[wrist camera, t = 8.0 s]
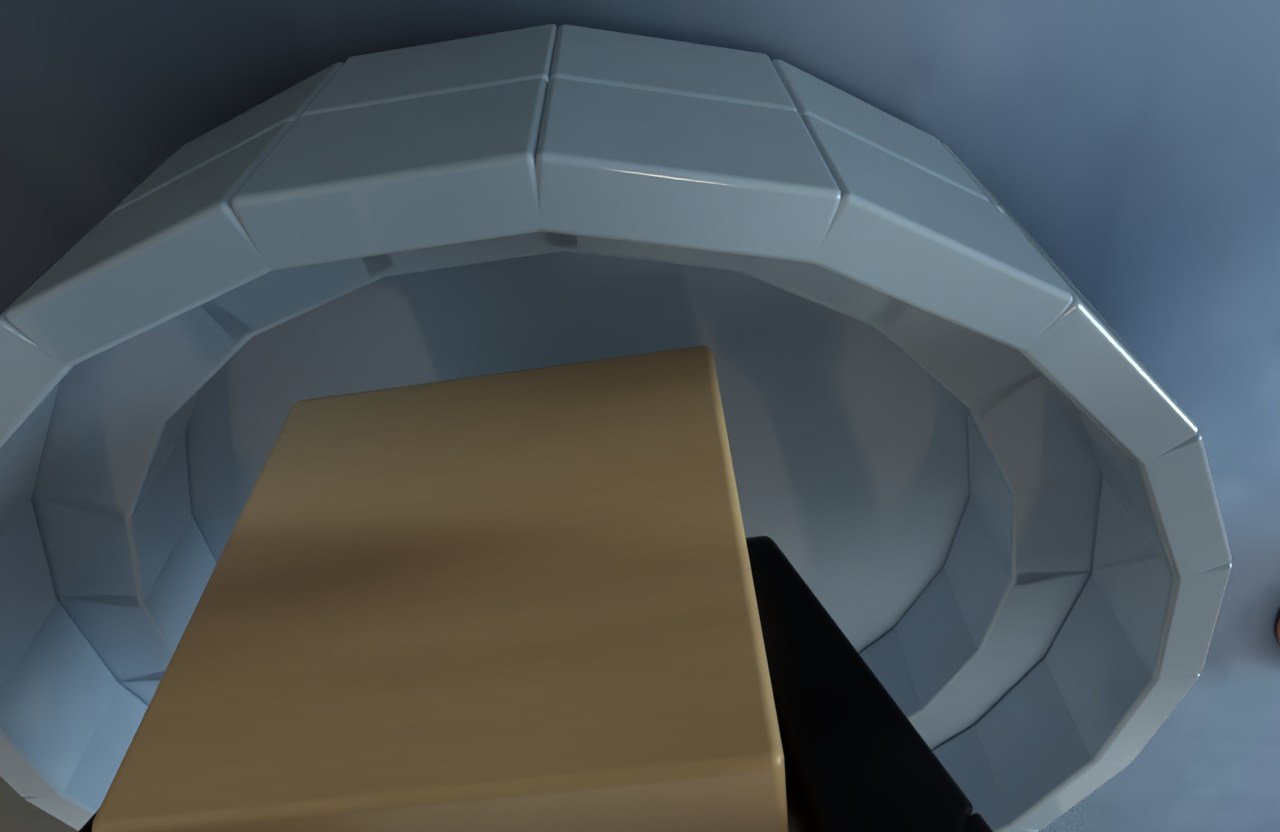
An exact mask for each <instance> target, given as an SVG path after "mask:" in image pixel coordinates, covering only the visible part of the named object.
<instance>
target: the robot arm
mask: <svg viewBox="0 0 1280 832" xmlns="http://www.w3.org/2000/svg"><path fill="white" fill-rule="evenodd" d="M746 544H747V549H748V555H749V561H750V566H751V572H752V578H753V583H754V589H755V595H756V600H757V606H758V612H759V618H760V623H761V629H762V635H763V640H764V646H765V652H766V657H767V663H768V669H769V674H770V680H771V686H772V691H773V697H774V703H775V709H776V714H777V720H778V726H779V731H780V737H781V743H782V748H783V754H784V766H785V783H786V800H787V817H788V832H993V831H992V829H991V828H990V827H989V825H988V824H987V823H986V821H985V820H984V819H983V817H982V816H981V815H980V814H979V813H973V814H972V812H973V805H972V803H971V802H970V801H969V799H968V798H967V797H966V795H965V794H964V793H963V791H962V790H961V789H960V787H959V786H958V785H957V783H956V782H955V781H954V779H953V778H952V777H951V775H950V774H949V773H948V771H947V770H946V769H945V767H944V766H943V765H942V763H941V762H940V761H939V759H938V758H937V757H936V755H935V754H934V753H933V751H932V750H931V749H930V748H929V746H928V745H927V744H926V742H925V741H924V740H923V738H922V737H921V736H920V734H919V733H918V732H917V730H916V729H915V728H914V726H913V725H912V724H911V722H910V721H909V720H908V718H907V717H906V716H905V714H904V713H903V712H902V710H901V709H900V708H899V706H898V705H897V704H896V702H895V701H894V700H893V698H892V697H891V696H890V694H889V693H888V692H887V690H886V689H885V688H884V686H883V685H882V684H881V682H880V681H879V680H878V678H877V677H876V676H875V674H874V673H873V672H872V670H871V669H870V668H869V666H868V665H867V664H866V662H865V661H864V660H863V658H862V657H861V656H860V654H859V653H858V652H857V650H856V649H855V648H854V646H853V645H852V644H851V642H850V641H849V640H848V639H847V637H846V636H845V635H844V633H843V632H842V631H841V629H840V628H839V627H838V625H837V624H836V623H835V621H834V620H833V619H832V617H831V616H830V615H829V613H828V612H827V611H826V609H825V608H824V607H823V605H822V604H821V603H820V601H819V600H818V599H817V597H816V596H815V595H814V593H813V592H812V591H811V589H810V588H809V587H808V585H807V584H806V583H805V581H804V580H803V579H802V577H801V576H800V575H799V573H798V572H797V571H796V569H795V568H794V567H793V565H792V564H791V563H790V561H789V560H788V559H787V557H786V556H785V555H784V553H783V552H782V551H781V549H780V548H779V547H778V545H777V544H776V543H775V542H774V541H773V540H772V539H771V538H770V537H768V536H757V537H748V538H746ZM98 810H99V809H98ZM98 810H97V811H96V813H95V814H94V815H93V816H92V817H91V818H90V819H89V820H88V821H87V822H86V823H85V825H84V826H83V827H82V828H81V829H80V830H79V831H78V832H92V825H93V820H94V818H95V816H96V814H97V812H98ZM971 815H972V816H971Z"/></svg>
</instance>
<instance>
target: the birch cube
mask: <svg viewBox="0 0 1280 832" xmlns="http://www.w3.org/2000/svg"><path fill="white" fill-rule="evenodd" d="M92 832H788V817H787V800H786V783H785V766H784V754H783V748H782V743H781V737H780V731H779V726H778V720H777V714H776V709H775V703H774V697H773V691H772V686H771V680H770V674H769V669H768V663H767V657H766V652H765V646H764V640H763V635H762V629H761V623H760V618H759V612H758V606H757V600H756V595H755V589H754V583H753V578H752V572H751V566H750V561H749V555H748V549H747V544H746V538H745V532H744V527H743V521H742V515H741V509H740V504H739V498H738V492H737V487H736V481H735V475H734V470H733V464H732V458H731V453H730V447H729V441H728V436H727V430H726V424H725V418H724V413H723V407H722V401H721V396H720V390H719V384H718V379H717V373H716V367H715V362H714V356H713V352H712V351H711V349H710V348H709V347H708V346H697V347H689V348H682V349H675V350H667V351H660V352H653V353H645V354H638V355H631V356H623V357H616V358H609V359H601V360H594V361H587V362H579V363H572V364H565V365H557V366H550V367H542V368H535V369H528V370H520V371H513V372H506V373H498V374H491V375H484V376H476V377H469V378H462V379H454V380H447V381H440V382H432V383H425V384H418V385H410V386H403V387H396V388H388V389H381V390H374V391H366V392H359V393H352V394H344V395H337V396H330V397H322V398H315V399H308V400H301V401H298V402H296V403H295V404H294V405H293V406H292V408H291V410H290V412H289V414H288V416H287V418H286V421H285V423H284V425H283V427H282V429H281V431H280V433H279V435H278V437H277V439H276V441H275V443H274V446H273V448H272V450H271V452H270V454H269V456H268V458H267V460H266V462H265V464H264V466H263V468H262V471H261V473H260V475H259V477H258V479H257V481H256V483H255V485H254V487H253V489H252V491H251V493H250V495H249V498H248V500H247V502H246V504H245V506H244V508H243V510H242V512H241V514H240V516H239V518H238V520H237V523H236V525H235V527H234V529H233V531H232V533H231V535H230V537H229V539H228V541H227V543H226V545H225V548H224V550H223V552H222V554H221V556H220V558H219V560H218V562H217V564H216V566H215V568H214V570H213V573H212V575H211V577H210V579H209V581H208V583H207V585H206V587H205V589H204V591H203V593H202V595H201V598H200V600H199V602H198V604H197V606H196V608H195V610H194V612H193V614H192V616H191V618H190V620H189V623H188V625H187V627H186V629H185V631H184V633H183V635H182V637H181V639H180V641H179V643H178V645H177V648H176V650H175V652H174V654H173V656H172V658H171V660H170V662H169V664H168V666H167V668H166V670H165V673H164V675H163V677H162V679H161V681H160V683H159V685H158V687H157V689H156V691H155V693H154V695H153V698H152V700H151V702H150V704H149V706H148V708H147V710H146V712H145V714H144V716H143V718H142V720H141V723H140V725H139V727H138V729H137V731H136V733H135V735H134V737H133V739H132V741H131V743H130V745H129V748H128V750H127V752H126V754H125V756H124V758H123V760H122V762H121V764H120V766H119V768H118V770H117V773H116V775H115V777H114V779H113V781H112V783H111V785H110V787H109V789H108V791H107V793H106V795H105V798H104V800H103V802H102V804H101V806H100V808H99V810H98V812H97V814H96V816H95V818H94V820H93V825H92Z"/></svg>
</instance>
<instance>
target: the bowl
mask: <svg viewBox="0 0 1280 832" xmlns="http://www.w3.org/2000/svg"><path fill="white" fill-rule="evenodd" d="M697 346H708V347H709V348H710V349H711V351H712V352H713V356H714V362H715V367H716V373H717V379H718V384H719V390H720V396H721V401H722V407H723V413H724V418H725V424H726V430H727V436H728V441H729V447H730V453H731V458H732V464H733V470H734V475H735V481H736V487H737V492H738V498H739V504H740V509H741V515H742V521H743V527H744V532H745V538H748V537H757V536H768V537H770V538H771V539H772V540H773V541H774V542H775V543H776V544H777V545H778V547H779V548H780V549H781V551H782V552H783V553H784V555H785V556H786V557H787V559H788V560H789V561H790V563H791V564H792V565H793V567H794V568H795V569H796V571H797V572H798V573H799V575H800V576H801V577H802V579H803V580H804V581H805V583H806V584H807V585H808V587H809V588H810V589H811V591H812V592H813V593H814V595H815V596H816V597H817V599H818V600H819V601H820V603H821V604H822V605H823V607H824V608H825V609H826V611H827V612H828V613H829V615H830V616H831V617H832V619H833V620H834V621H835V623H836V624H837V625H838V627H839V628H840V629H841V631H842V632H843V633H844V635H845V636H846V637H847V639H848V640H849V641H850V642H851V644H852V645H853V646H854V648H855V649H856V650H857V652H858V653H859V654H860V656H861V657H862V658H863V660H864V661H865V662H866V664H867V665H868V666H869V668H870V669H871V670H872V672H873V673H874V674H875V676H876V677H877V678H878V680H879V681H880V682H881V684H882V685H883V686H884V688H885V689H886V690H887V692H888V693H889V694H890V696H891V697H892V698H893V700H894V701H895V702H896V704H897V705H898V706H899V708H900V709H901V710H902V712H903V713H904V714H905V716H906V717H907V718H908V720H909V721H910V722H911V724H912V725H913V726H914V728H915V729H916V730H917V732H918V733H919V734H920V736H921V737H922V738H923V740H924V741H925V742H926V744H927V745H928V746H929V748H930V749H931V750H932V751H933V753H934V754H935V755H936V757H937V758H938V759H939V761H940V762H941V763H942V765H943V766H944V767H945V769H946V770H947V771H948V773H949V774H950V775H951V777H952V778H953V779H954V781H955V782H956V783H957V785H958V786H959V787H960V789H961V790H962V791H963V793H964V794H965V795H966V797H967V798H968V799H969V801H970V802H971V803H972V805H973V812H972V814H973V813H979V814H980V815H981V816H982V817H983V819H984V820H985V821H986V823H987V824H988V825H989V827H990V828H991V829H992V831H993V832H1038V831H1039V830H1042V829H1044V828H1045V827H1047V826H1048V825H1050V824H1051V823H1052V822H1054V821H1055V820H1056V819H1058V818H1059V817H1060V816H1062V815H1063V814H1064V813H1066V812H1067V811H1068V810H1070V809H1071V808H1072V807H1074V806H1075V805H1076V804H1078V803H1079V802H1080V801H1082V800H1083V799H1084V798H1086V797H1087V796H1089V795H1090V794H1091V793H1093V792H1094V791H1095V790H1097V789H1098V788H1099V787H1101V786H1102V785H1103V784H1105V783H1106V782H1107V781H1109V780H1110V779H1111V778H1113V777H1114V776H1115V775H1117V774H1118V773H1119V772H1121V771H1122V770H1123V769H1125V768H1126V767H1128V766H1129V764H1130V762H1132V761H1134V760H1135V759H1136V758H1137V756H1138V755H1139V754H1140V753H1141V751H1142V750H1143V749H1144V747H1145V746H1146V745H1147V744H1148V742H1149V741H1150V740H1151V739H1152V737H1153V736H1154V735H1155V734H1156V732H1157V731H1158V730H1159V728H1160V727H1161V726H1162V725H1163V723H1164V722H1165V721H1166V720H1167V718H1168V717H1169V716H1170V714H1171V713H1172V712H1173V711H1174V709H1175V708H1176V707H1177V706H1178V704H1179V703H1180V702H1181V700H1182V699H1183V698H1184V697H1185V695H1186V694H1187V693H1188V692H1189V690H1190V689H1191V688H1192V687H1193V685H1194V684H1195V683H1196V681H1197V680H1198V679H1199V678H1200V673H1201V672H1203V670H1204V666H1205V663H1206V659H1207V656H1208V652H1209V649H1210V645H1211V642H1212V638H1213V634H1214V631H1215V627H1216V624H1217V620H1218V617H1219V613H1220V610H1221V606H1222V603H1223V599H1224V596H1225V592H1226V589H1227V585H1228V581H1229V578H1230V574H1231V571H1232V563H1231V562H1232V560H1233V559H1232V553H1231V549H1230V545H1229V541H1228V537H1227V533H1226V529H1225V525H1224V521H1223V517H1222V513H1221V509H1220V505H1219V501H1218V497H1217V493H1216V489H1215V485H1214V481H1213V477H1212V473H1211V469H1210V465H1209V461H1208V457H1207V453H1206V449H1205V445H1204V441H1203V437H1202V433H1201V432H1200V431H1199V430H1198V429H1197V424H1196V423H1195V422H1194V421H1193V420H1192V419H1191V417H1190V416H1189V415H1188V414H1187V413H1186V412H1185V411H1184V409H1183V408H1182V407H1181V406H1180V405H1179V404H1178V403H1177V401H1176V400H1175V399H1174V398H1173V397H1172V396H1171V395H1170V394H1169V392H1168V391H1167V390H1166V389H1165V388H1164V387H1163V386H1162V384H1161V383H1160V382H1159V381H1158V380H1157V379H1156V378H1155V376H1154V375H1153V374H1152V373H1151V372H1150V371H1149V370H1148V368H1147V367H1146V366H1145V365H1144V364H1143V363H1142V362H1141V360H1140V359H1139V358H1138V357H1137V356H1136V355H1135V354H1134V352H1133V351H1132V350H1131V349H1130V348H1129V347H1128V346H1127V344H1126V343H1125V342H1124V341H1123V340H1122V339H1121V338H1120V336H1119V335H1118V334H1117V333H1116V332H1115V331H1114V330H1113V328H1112V327H1111V326H1110V325H1109V324H1108V323H1107V321H1106V320H1105V319H1104V318H1103V317H1102V316H1101V315H1100V313H1099V312H1098V311H1097V310H1096V309H1095V308H1094V307H1093V305H1092V304H1091V303H1090V302H1089V301H1088V300H1087V299H1086V297H1085V296H1084V295H1083V294H1082V293H1081V292H1080V291H1079V289H1078V288H1077V287H1076V286H1075V285H1074V284H1073V283H1072V281H1071V280H1070V279H1069V278H1068V277H1067V276H1066V275H1065V274H1064V272H1063V271H1062V270H1061V269H1060V268H1059V267H1058V266H1057V264H1056V263H1055V262H1054V261H1053V260H1052V259H1051V258H1050V256H1049V255H1048V254H1047V253H1046V252H1045V251H1044V250H1043V249H1042V247H1041V246H1040V245H1039V244H1038V243H1037V242H1036V241H1035V240H1034V239H1033V238H1032V237H1031V236H1030V234H1029V233H1028V232H1027V231H1026V230H1025V229H1024V228H1023V227H1022V226H1021V225H1020V224H1019V223H1018V221H1017V220H1016V219H1015V218H1014V217H1013V216H1012V215H1011V214H1010V213H1009V212H1008V211H1007V210H1006V208H1005V207H1004V206H1003V205H1002V204H1001V203H1000V202H999V201H998V200H997V199H996V198H995V197H994V195H993V194H992V193H991V192H990V191H989V190H988V189H987V188H986V187H985V186H984V185H983V184H982V182H981V181H980V180H979V179H978V178H977V177H976V176H975V175H974V174H973V173H972V172H971V171H970V169H969V168H968V167H967V166H966V165H965V164H964V163H963V162H962V161H961V160H960V159H959V158H958V156H957V155H956V154H955V153H954V152H953V151H952V150H951V149H950V148H949V147H948V146H947V145H946V144H945V143H940V141H939V140H938V139H937V138H936V137H934V136H932V135H930V134H928V133H926V132H924V131H922V130H920V129H918V128H916V127H914V126H912V125H910V124H908V123H906V122H904V121H902V120H900V119H898V118H896V117H894V116H892V115H890V114H888V113H886V112H884V111H882V110H880V109H878V108H876V107H874V106H872V105H870V104H868V103H866V102H864V101H862V100H860V99H858V98H856V97H854V96H852V95H850V94H848V93H846V92H844V91H842V90H840V89H838V88H836V87H834V86H832V85H830V84H828V83H826V82H824V81H822V80H820V79H818V78H816V77H814V76H812V75H810V74H808V73H806V72H804V71H802V70H800V69H798V68H796V67H794V66H792V65H790V64H788V63H786V62H784V61H782V60H780V59H772V60H771V59H770V58H769V56H767V55H766V54H763V53H756V52H749V51H742V50H736V49H729V48H722V47H715V46H708V45H702V44H695V43H688V42H681V41H674V40H668V39H661V38H654V37H647V36H640V35H634V34H627V33H620V32H613V31H606V30H599V29H593V28H586V27H579V26H572V25H561V26H559V28H557V26H556V25H554V24H548V25H542V26H536V27H530V28H524V29H518V30H511V31H505V32H499V33H493V34H487V35H481V36H475V37H469V38H462V39H456V40H450V41H444V42H438V43H432V44H426V45H420V46H414V47H407V48H401V49H395V50H389V51H383V52H377V53H371V54H365V55H359V56H352V57H349V58H348V59H347V60H346V61H345V62H344V63H335V64H333V65H331V66H329V67H327V68H326V69H324V70H322V71H320V72H318V73H316V74H314V75H313V76H311V77H309V78H307V79H305V80H303V81H302V82H300V83H298V84H296V85H294V86H292V87H290V88H289V89H287V90H285V91H283V92H281V93H279V94H278V95H276V96H274V97H272V98H270V99H268V100H266V101H265V102H263V103H261V104H259V105H257V106H255V107H254V108H252V109H250V110H248V111H246V112H244V113H242V114H241V115H239V116H237V117H235V118H233V119H231V120H230V121H228V122H226V123H224V124H222V125H220V126H218V127H217V128H215V129H213V130H211V131H209V132H207V133H206V134H204V135H202V136H200V137H198V138H196V139H194V140H193V141H191V142H189V143H187V144H185V145H183V146H182V147H181V148H180V149H179V150H178V151H177V152H176V153H175V154H172V155H171V156H170V157H169V158H168V159H167V160H166V161H165V162H164V163H162V164H161V165H160V166H159V167H158V168H157V169H156V170H155V171H154V172H153V173H152V174H151V175H150V176H149V177H147V178H146V179H145V180H144V181H143V182H142V183H141V184H140V185H139V186H138V187H137V188H136V189H135V190H134V191H132V192H131V193H130V194H129V195H128V196H127V197H126V198H125V199H124V200H123V201H122V202H121V203H120V204H119V205H117V206H116V207H115V208H114V209H113V210H112V211H111V212H110V213H109V214H108V215H107V216H106V217H105V218H104V219H103V220H102V221H101V222H100V223H99V224H98V225H96V226H95V227H94V228H93V229H91V230H90V231H89V232H88V233H87V234H86V235H85V236H84V237H83V238H82V239H81V240H80V241H79V242H77V243H76V244H75V245H74V246H73V247H72V248H71V249H70V250H69V251H68V252H67V253H66V254H65V255H64V256H62V257H61V258H60V259H59V260H58V261H57V262H56V263H55V264H54V265H53V266H52V267H51V268H50V269H49V270H47V271H46V272H45V273H44V274H43V275H42V276H41V277H40V278H39V279H38V280H37V281H36V282H35V283H33V284H32V285H31V286H30V287H29V288H28V289H27V290H26V291H25V292H24V293H23V294H22V295H21V296H20V297H18V298H17V299H16V300H15V301H14V302H13V303H12V304H11V305H10V306H9V307H8V308H7V309H6V310H5V311H3V312H2V313H1V314H0V777H1V778H2V779H3V780H4V781H5V782H6V783H7V784H8V785H9V786H10V787H11V788H12V789H13V790H14V791H15V792H16V793H17V794H18V795H19V796H21V797H24V799H25V800H26V801H28V802H29V803H31V804H33V805H35V806H36V807H38V808H40V809H41V810H43V811H45V812H47V813H48V814H50V815H52V816H53V817H55V818H57V819H59V820H60V821H62V822H64V823H65V824H67V825H69V826H71V827H72V828H74V829H76V830H77V831H79V830H80V829H81V828H82V827H83V826H84V825H85V823H86V822H87V821H88V820H89V819H90V818H91V817H92V816H93V815H94V814H95V813H96V811H97V810H98V809H99V808H100V806H101V804H102V802H103V800H104V798H105V795H106V793H107V791H108V789H109V787H110V785H111V783H112V781H113V779H114V777H115V775H116V773H117V770H118V768H119V766H120V764H121V762H122V760H123V758H124V756H125V754H126V752H127V750H128V748H129V745H130V743H131V741H132V739H133V737H134V735H135V733H136V731H137V729H138V727H139V725H140V723H141V720H142V718H143V716H144V714H145V712H146V710H147V708H148V706H149V704H150V702H151V700H152V698H153V695H154V693H155V691H156V689H157V687H158V685H159V683H160V681H161V679H162V677H163V675H164V673H165V670H166V668H167V666H168V664H169V662H170V660H171V658H172V656H173V654H174V652H175V650H176V648H177V645H178V643H179V641H180V639H181V637H182V635H183V633H184V631H185V629H186V627H187V625H188V623H189V620H190V618H191V616H192V614H193V612H194V610H195V608H196V606H197V604H198V602H199V600H200V598H201V595H202V593H203V591H204V589H205V587H206V585H207V583H208V581H209V579H210V577H211V575H212V573H213V570H214V568H215V566H216V564H217V562H218V560H219V558H220V556H221V554H222V552H223V550H224V548H225V545H226V543H227V541H228V539H229V537H230V535H231V533H232V531H233V529H234V527H235V525H236V523H237V520H238V518H239V516H240V514H241V512H242V510H243V508H244V506H245V504H246V502H247V500H248V498H249V495H250V493H251V491H252V489H253V487H254V485H255V483H256V481H257V479H258V477H259V475H260V473H261V471H262V468H263V466H264V464H265V462H266V460H267V458H268V456H269V454H270V452H271V450H272V448H273V446H274V443H275V441H276V439H277V437H278V435H279V433H280V431H281V429H282V427H283V425H284V423H285V421H286V418H287V416H288V414H289V412H290V410H291V408H292V406H293V405H294V404H295V403H296V402H298V401H301V400H308V399H315V398H322V397H330V396H337V395H344V394H352V393H359V392H366V391H374V390H381V389H388V388H396V387H403V386H410V385H418V384H425V383H432V382H440V381H447V380H454V379H462V378H469V377H476V376H484V375H491V374H498V373H506V372H513V371H520V370H528V369H535V368H542V367H550V366H557V365H565V364H572V363H579V362H587V361H594V360H601V359H609V358H616V357H623V356H631V355H638V354H645V353H653V352H660V351H667V350H675V349H682V348H689V347H697ZM971 816H972V815H971Z"/></svg>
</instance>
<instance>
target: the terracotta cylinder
mask: <svg viewBox="0 0 1280 832" xmlns="http://www.w3.org/2000/svg"><path fill="white" fill-rule="evenodd" d="M1277 635H1278V639H1279V643H1280V618H1279V621H1278V625H1277Z"/></svg>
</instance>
